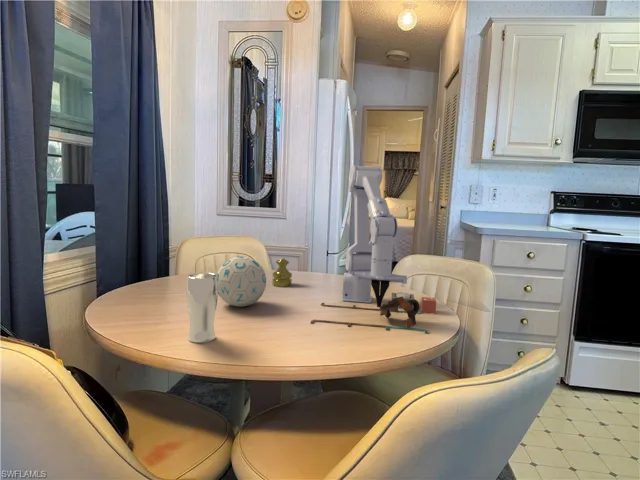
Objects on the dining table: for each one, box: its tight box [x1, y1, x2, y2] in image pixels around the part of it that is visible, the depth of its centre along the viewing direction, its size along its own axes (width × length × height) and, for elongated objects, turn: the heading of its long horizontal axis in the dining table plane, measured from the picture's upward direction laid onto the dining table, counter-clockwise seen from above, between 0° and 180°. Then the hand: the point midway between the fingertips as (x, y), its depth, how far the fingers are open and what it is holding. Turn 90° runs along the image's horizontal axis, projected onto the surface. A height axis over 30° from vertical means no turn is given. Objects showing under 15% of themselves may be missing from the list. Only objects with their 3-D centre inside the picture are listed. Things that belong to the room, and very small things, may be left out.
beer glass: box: [185, 272, 219, 344], centre depth 95 cm, size 7×7×15 cm
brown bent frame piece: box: [378, 297, 421, 328], centre depth 114 cm, size 12×10×8 cm
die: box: [420, 296, 437, 315], centre depth 125 cm, size 4×4×4 cm
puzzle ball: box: [216, 255, 267, 308], centre depth 123 cm, size 15×15×15 cm
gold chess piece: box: [271, 258, 293, 288], centre depth 153 cm, size 7×7×10 cm
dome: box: [395, 291, 411, 298], centre depth 131 cm, size 4×4×3 cm
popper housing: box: [390, 292, 416, 309], centre depth 131 cm, size 7×7×3 cm
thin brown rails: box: [310, 302, 429, 335], centre depth 117 cm, size 31×21×1 cm
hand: (379, 306), depth 116 cm, fingers closed
